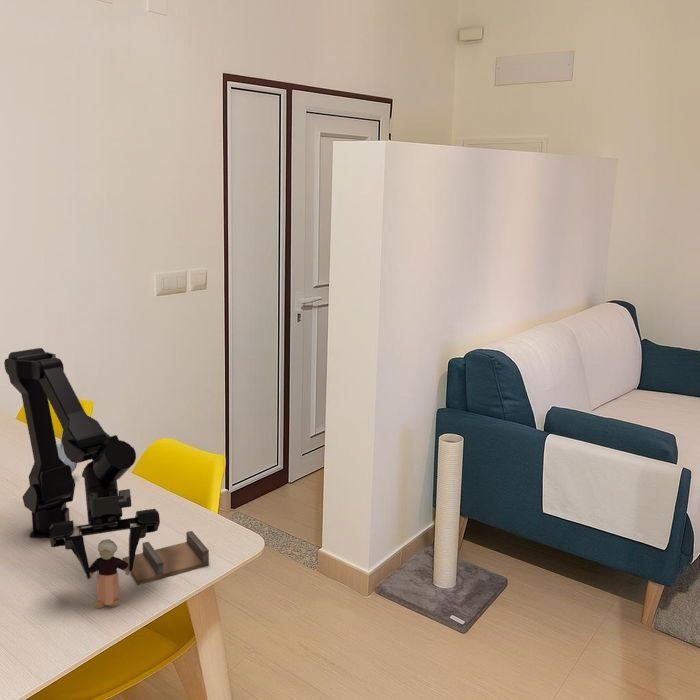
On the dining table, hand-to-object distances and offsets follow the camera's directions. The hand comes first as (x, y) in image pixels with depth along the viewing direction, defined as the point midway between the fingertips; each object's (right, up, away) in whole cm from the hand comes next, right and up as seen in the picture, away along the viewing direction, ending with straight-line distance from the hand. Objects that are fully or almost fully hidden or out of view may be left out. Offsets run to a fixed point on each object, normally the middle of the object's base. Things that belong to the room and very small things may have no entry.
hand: (110, 574), depth 129 cm
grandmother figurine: (-1, -6, +3) cm, 7 cm away
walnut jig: (+6, -3, +17) cm, 18 cm away
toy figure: (-28, +7, +51) cm, 59 cm away
